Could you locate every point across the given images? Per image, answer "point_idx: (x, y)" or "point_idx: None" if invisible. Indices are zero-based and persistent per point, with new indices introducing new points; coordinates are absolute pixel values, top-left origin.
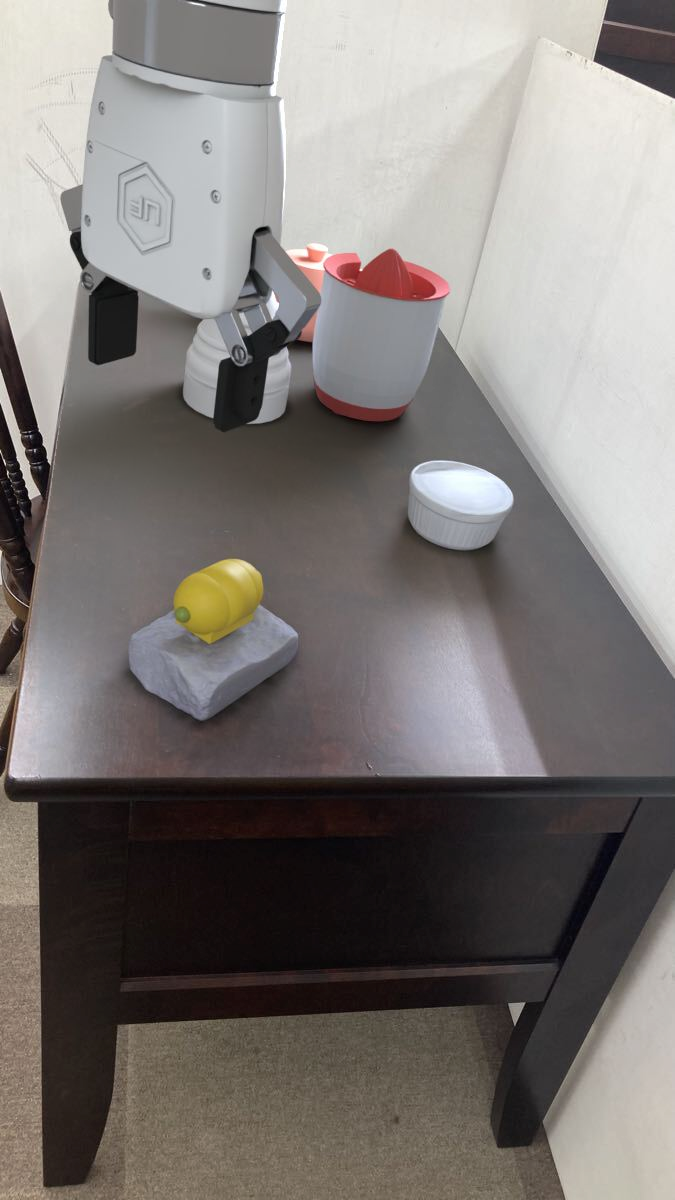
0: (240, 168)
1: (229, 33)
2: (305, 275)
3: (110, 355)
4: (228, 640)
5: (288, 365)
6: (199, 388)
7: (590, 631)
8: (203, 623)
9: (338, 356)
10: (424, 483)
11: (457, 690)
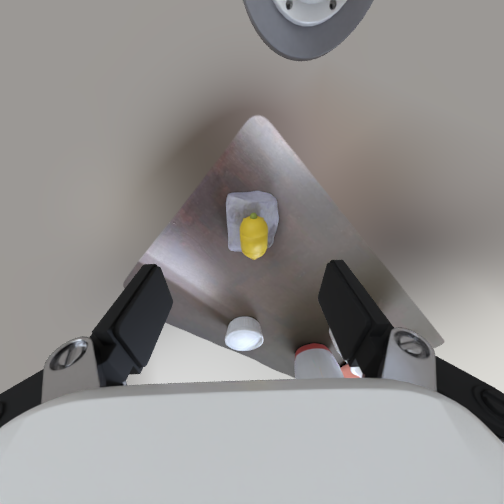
0: None
1: None
2: None
3: (326, 278)
4: None
5: (338, 351)
6: None
7: (180, 316)
8: (244, 219)
9: (323, 365)
10: (254, 334)
11: (184, 270)
